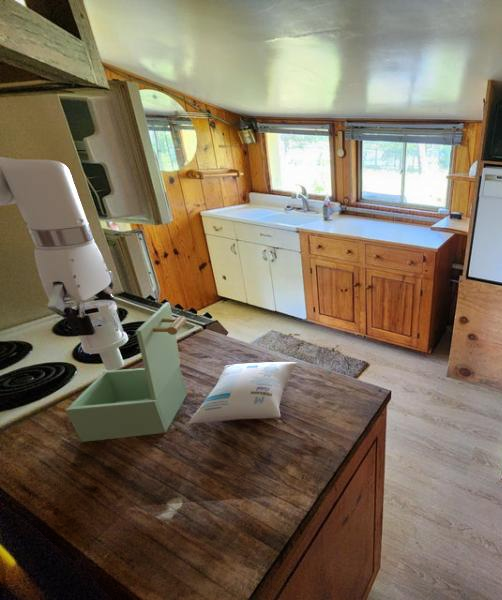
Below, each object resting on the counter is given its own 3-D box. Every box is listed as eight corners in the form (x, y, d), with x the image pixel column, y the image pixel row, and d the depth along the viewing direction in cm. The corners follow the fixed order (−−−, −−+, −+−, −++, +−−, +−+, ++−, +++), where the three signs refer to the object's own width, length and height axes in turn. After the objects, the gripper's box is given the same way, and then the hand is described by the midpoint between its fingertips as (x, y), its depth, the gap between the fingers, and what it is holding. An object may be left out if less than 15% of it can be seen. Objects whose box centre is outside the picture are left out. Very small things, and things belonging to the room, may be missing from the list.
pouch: (222, 352, 85) (183, 404, 67) (297, 353, 87) (279, 403, 69) (226, 377, 88) (190, 434, 70) (298, 377, 90) (281, 431, 72)
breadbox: (81, 442, 67) (65, 410, 64) (116, 400, 79) (104, 370, 75) (165, 432, 70) (154, 401, 67) (187, 393, 82) (179, 365, 78)
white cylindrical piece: (110, 379, 65) (83, 312, 58) (83, 372, 66) (54, 307, 60) (144, 359, 71) (122, 297, 65) (118, 354, 72) (95, 292, 66)
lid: (135, 330, 60) (167, 331, 61) (165, 301, 71) (191, 302, 72) (151, 400, 66) (179, 399, 68) (176, 363, 78) (200, 363, 79)
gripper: (72, 225, 64) (103, 306, 71) (-9, 250, 48) (41, 350, 56) (116, 225, 65) (142, 304, 73) (51, 249, 50) (92, 347, 57)
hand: (98, 323), depth 64 cm, fingers closed on white cylindrical piece, 7 cm apart
